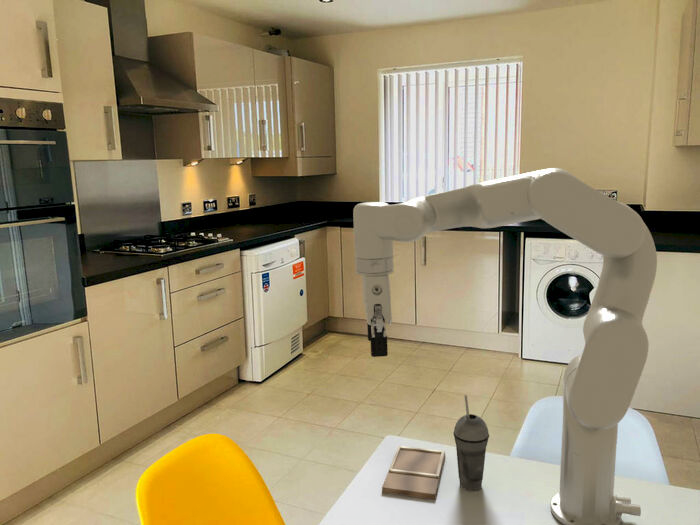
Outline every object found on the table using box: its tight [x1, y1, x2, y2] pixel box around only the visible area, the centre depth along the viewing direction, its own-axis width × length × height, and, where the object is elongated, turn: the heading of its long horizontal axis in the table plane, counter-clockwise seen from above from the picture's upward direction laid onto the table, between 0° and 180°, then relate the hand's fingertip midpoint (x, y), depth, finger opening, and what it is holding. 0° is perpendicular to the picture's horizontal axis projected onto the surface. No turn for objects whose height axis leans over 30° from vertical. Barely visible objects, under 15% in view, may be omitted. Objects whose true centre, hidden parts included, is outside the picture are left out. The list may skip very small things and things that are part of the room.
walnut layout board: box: [381, 445, 446, 500], centre depth 128 cm, size 11×17×2 cm, turn 164°
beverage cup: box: [453, 395, 490, 492], centre depth 122 cm, size 7×7×20 cm
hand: (377, 347), depth 119 cm, fingers open, 9 cm apart
